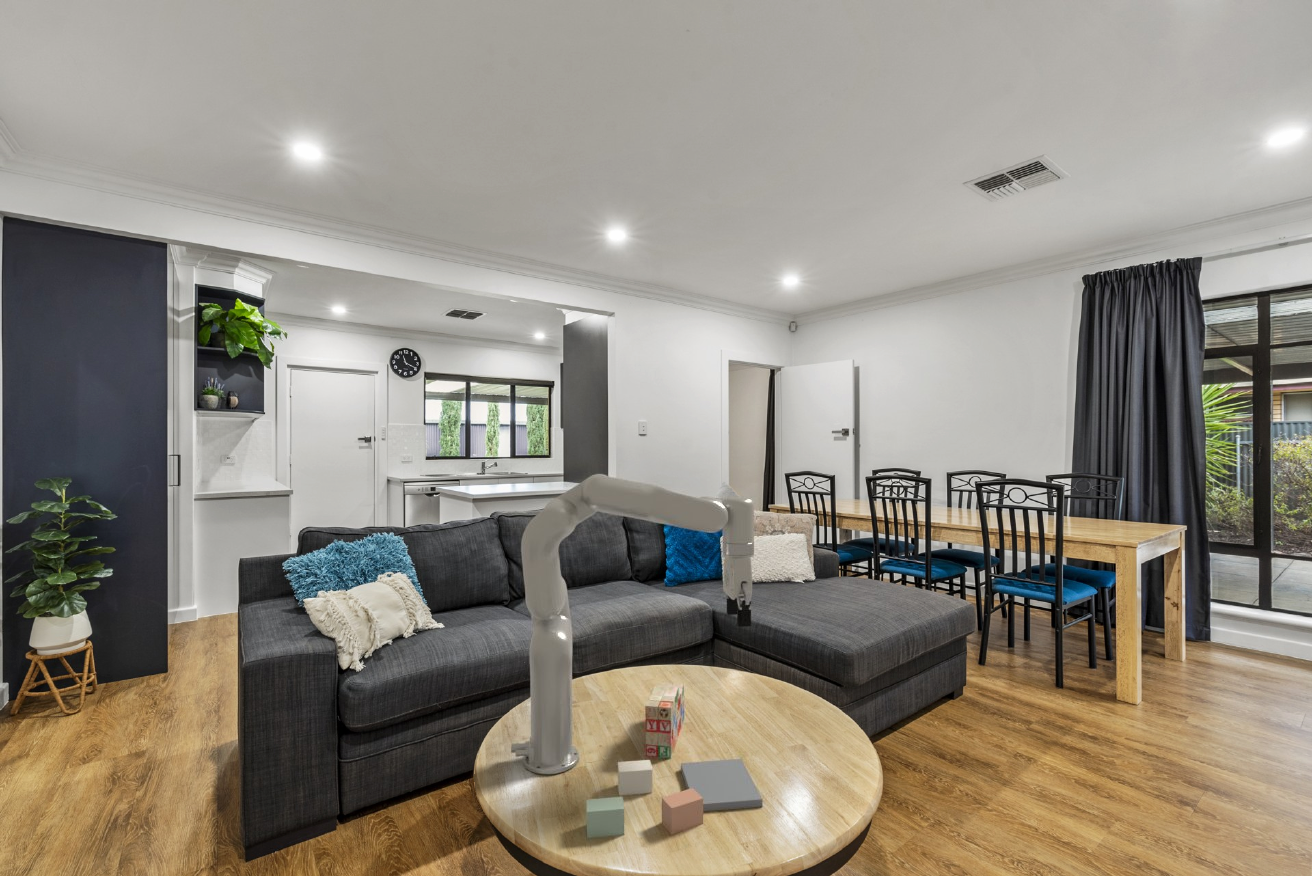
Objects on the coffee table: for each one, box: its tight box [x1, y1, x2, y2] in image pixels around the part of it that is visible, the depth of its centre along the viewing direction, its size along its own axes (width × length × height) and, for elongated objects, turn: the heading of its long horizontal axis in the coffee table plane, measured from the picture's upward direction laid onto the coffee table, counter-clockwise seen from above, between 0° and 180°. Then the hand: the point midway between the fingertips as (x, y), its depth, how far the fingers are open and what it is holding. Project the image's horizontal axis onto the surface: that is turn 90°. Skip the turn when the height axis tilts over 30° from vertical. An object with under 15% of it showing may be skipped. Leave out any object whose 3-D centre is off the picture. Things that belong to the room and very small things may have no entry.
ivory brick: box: [617, 759, 653, 796], centre depth 132 cm, size 7×4×5 cm, turn 98°
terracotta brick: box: [661, 788, 704, 835], centre depth 120 cm, size 7×4×5 cm, turn 118°
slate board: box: [680, 758, 763, 813], centre depth 133 cm, size 14×16×2 cm
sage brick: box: [585, 796, 625, 839], centre depth 118 cm, size 7×4×5 cm, turn 98°
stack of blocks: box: [644, 682, 685, 760], centre depth 155 cm, size 21×6×12 cm, turn 169°
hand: (738, 620), depth 149 cm, fingers open, 9 cm apart
